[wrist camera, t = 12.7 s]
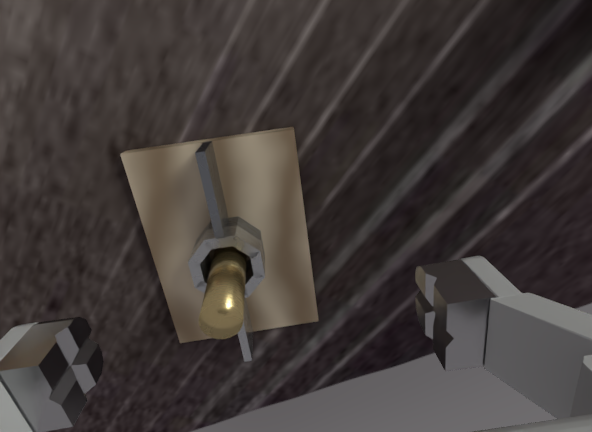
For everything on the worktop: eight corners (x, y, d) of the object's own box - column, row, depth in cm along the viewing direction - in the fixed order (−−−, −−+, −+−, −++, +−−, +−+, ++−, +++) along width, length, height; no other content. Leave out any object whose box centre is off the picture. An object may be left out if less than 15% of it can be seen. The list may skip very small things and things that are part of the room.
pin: (244, 230, 37) (238, 299, 26) (249, 258, 39) (246, 335, 27) (212, 235, 37) (193, 307, 26) (219, 263, 38) (204, 342, 27)
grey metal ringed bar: (243, 136, 34) (240, 146, 30) (278, 327, 42) (279, 355, 38) (171, 146, 34) (158, 158, 29) (221, 336, 42) (216, 366, 38)
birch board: (292, 126, 35) (293, 129, 34) (316, 313, 44) (318, 321, 42) (125, 150, 35) (120, 154, 33) (182, 334, 43) (180, 343, 42)
